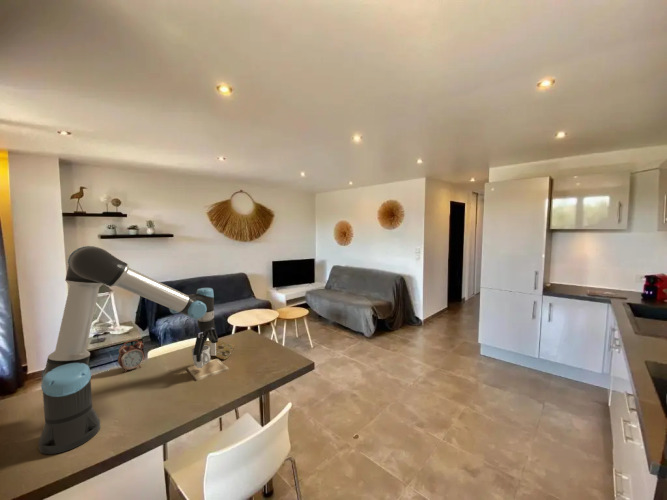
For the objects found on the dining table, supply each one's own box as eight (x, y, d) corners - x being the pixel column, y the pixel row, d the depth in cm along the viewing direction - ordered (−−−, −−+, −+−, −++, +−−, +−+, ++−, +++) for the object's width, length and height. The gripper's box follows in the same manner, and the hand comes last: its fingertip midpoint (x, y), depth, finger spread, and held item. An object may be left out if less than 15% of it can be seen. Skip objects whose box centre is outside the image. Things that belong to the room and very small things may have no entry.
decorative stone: (198, 348, 165) (200, 340, 165) (223, 344, 176) (224, 336, 176) (217, 367, 148) (219, 358, 148) (243, 360, 160) (245, 352, 159)
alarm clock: (121, 375, 136) (119, 345, 135) (117, 372, 139) (115, 342, 138) (146, 366, 145) (144, 338, 144) (142, 363, 148) (141, 336, 147)
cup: (217, 364, 137) (216, 348, 137) (201, 371, 131) (201, 354, 130) (204, 359, 143) (203, 343, 143) (188, 365, 136) (188, 349, 136)
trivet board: (196, 381, 130) (196, 378, 130) (187, 369, 142) (187, 367, 141) (228, 370, 141) (228, 368, 140) (217, 360, 152) (217, 358, 152)
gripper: (200, 327, 127) (201, 373, 128) (224, 312, 152) (224, 350, 153) (184, 327, 127) (185, 373, 128) (210, 312, 152) (211, 350, 153)
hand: (206, 361), depth 140 cm, fingers open, 13 cm apart
